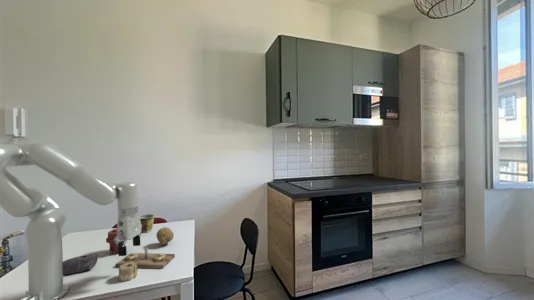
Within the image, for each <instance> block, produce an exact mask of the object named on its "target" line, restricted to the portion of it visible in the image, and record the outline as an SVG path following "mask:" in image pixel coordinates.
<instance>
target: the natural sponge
mask: <svg viewBox="0 0 534 300" xmlns="http://www.w3.org/2000/svg"><path fill="white" fill-rule="evenodd" d="M155 237H156V239H157V241H158V243H159V245H162V246H165V245H167V244H168V243H170V242H171V241H172V240H173V239H174V232H173V230H172V229H171V228H170V227H166V226H164V227H161V228H159V229H158V230H157V232H156V236H155Z"/></svg>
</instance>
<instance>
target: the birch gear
mask: <svg viewBox="0 0 534 300" xmlns="http://www.w3.org/2000/svg"><path fill="white" fill-rule="evenodd" d="M137 275H138V268H137V263H134V262H130V263H125V264H123V265H120V267H118V281H121V282H128V281H132V280H133V279H136V278H137Z"/></svg>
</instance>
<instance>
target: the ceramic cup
mask: <svg viewBox="0 0 534 300" xmlns="http://www.w3.org/2000/svg"><path fill="white" fill-rule="evenodd" d="M154 220H155V214H150V213H149V214H142V215H140V221H141V225H142V228H141V230H142V231H141V234H147V233H151V232H152V230H153V227H154Z"/></svg>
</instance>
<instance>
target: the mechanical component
mask: <svg viewBox="0 0 534 300" xmlns="http://www.w3.org/2000/svg"><path fill="white" fill-rule="evenodd" d="M116 236H117V227H116V228H113V229H111V230H109V231H108V232H107V237H106V239H105V243H108V244H109V252H111V255H116V254H118V247H117V245H116V244H115V241H114V239H115V237H116ZM121 242H122V243H123V241H121Z"/></svg>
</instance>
